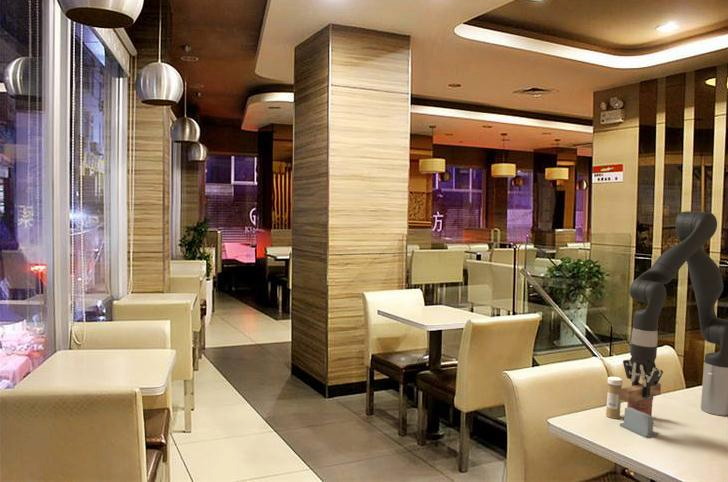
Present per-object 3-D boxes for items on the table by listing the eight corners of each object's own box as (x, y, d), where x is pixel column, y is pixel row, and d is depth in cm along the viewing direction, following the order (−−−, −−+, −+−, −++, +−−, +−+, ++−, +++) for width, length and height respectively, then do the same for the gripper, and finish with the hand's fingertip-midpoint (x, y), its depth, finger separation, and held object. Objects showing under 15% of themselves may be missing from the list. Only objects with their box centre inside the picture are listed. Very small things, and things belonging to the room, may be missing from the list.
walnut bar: (652, 391, 190) (652, 380, 189) (660, 394, 187) (660, 383, 186) (620, 399, 184) (620, 388, 184) (629, 403, 181) (629, 392, 181)
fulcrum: (630, 423, 192) (631, 406, 191) (656, 435, 183) (658, 417, 182) (619, 425, 190) (620, 408, 189) (645, 437, 181) (646, 419, 180)
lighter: (651, 416, 199) (653, 388, 198) (652, 419, 196) (654, 391, 195) (625, 412, 202) (627, 384, 201) (626, 416, 199) (628, 387, 198)
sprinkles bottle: (622, 417, 197) (625, 379, 196) (614, 419, 195) (617, 381, 194) (610, 413, 201) (613, 375, 200) (602, 415, 199) (605, 377, 198)
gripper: (671, 347, 179) (667, 401, 180) (634, 336, 192) (630, 387, 193) (654, 349, 176) (650, 404, 177) (617, 338, 189) (614, 389, 190)
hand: (640, 395), depth 185 cm, fingers closed on walnut bar, 3 cm apart
